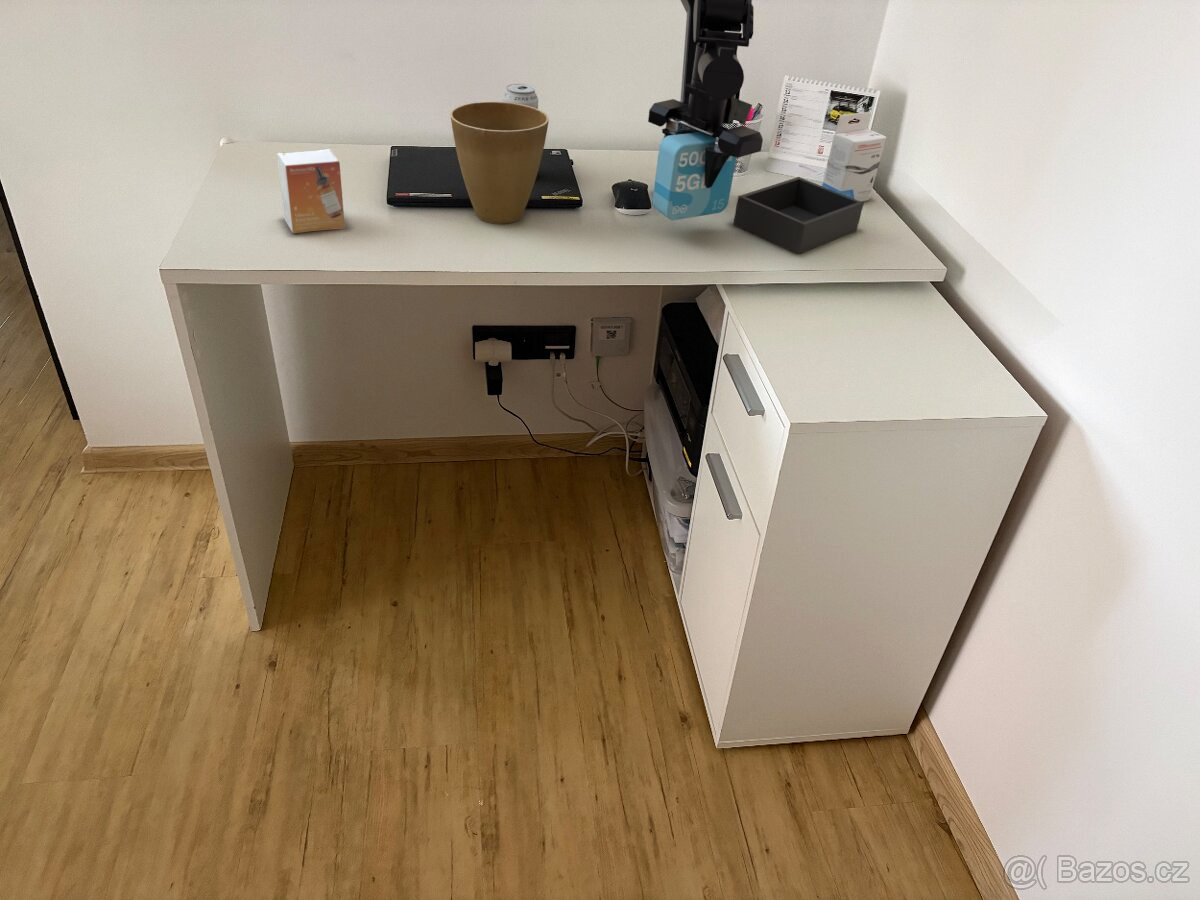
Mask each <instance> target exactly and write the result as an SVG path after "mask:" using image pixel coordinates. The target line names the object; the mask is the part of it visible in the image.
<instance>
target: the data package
mask: <svg viewBox="0 0 1200 900" xmlns="http://www.w3.org/2000/svg"><path fill="white" fill-rule="evenodd" d="M663 138H664V137H663ZM663 138H662V140H661V141H660V144H659V148H658V155H657V163H656V171H655V177H654V178H655V179H654V184H653V194H652V202H651V204H652V207H653V208H654V209H655V210H656V211H657V212H658V213H660V214H661V215H662V216H664V217H665V218H667V219H668V220H669V221H678V220H684V219H691V218H697V217H702V216H708V215H714V214H715V215H716V214H719V213H722V212H723V211H725V209H727V207H728V205H729V201H730V195H731V189H732V184H733V179H734V173H735V168H736V164H737V163H736V162H737V158H738V157H733V156H730V157H729V158H728V160H727V161H726V162H725V164H724V166H723V167H722V169H721V171H720V173H719V175H718V176H717V178H716V180H715V182H714V184H713V186H712V187H710V188H706V185H705V148H707V147H711V146H714V145H715V142H716V138H713V137H711V136H708V135H706V134H703V133H701V132H696V133H687V134H678V135H669V136H667V137H665V138H664V139H663Z"/></svg>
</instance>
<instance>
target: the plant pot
mask: <svg viewBox="0 0 1200 900" xmlns="http://www.w3.org/2000/svg"><path fill="white" fill-rule="evenodd" d="M449 115H450V121H451V128H452V129H451V130H452V135H453V140H454V146H455V150H456V155H457V159H458V163H459V168H460V172H461V175H462V178H463V182H464V185H465V188H466V191H467V194H468V197H469V200H470V202H471V206H472V208H473V211H474V213H475V215H476V217H477V218H478V219H479V220H481V221H483V222H485V223H490V224H497V225H498V224H499V225H505V224H513V223H515V222H517V221H519V220H520V219H521V218H522V217H523V215H524V212H525V210H526V207H527V206H528V202H529V200H530V197H531V195H532V194H531V193H532V192H533V188H534V186H535V182H536V180H537V176H538V173H539V169H540V166H541V162H542V157H543V153H544V150H545V149H544V148H545V144H546V140H547V133H548V128H549V121H550V118H549V115H548V114H547V113H546V112H544V111H542V110H540V109H539V108H538V109H536V108H533V107H530V106H526V105H522V104H516V103H508V102H503V101H476V102H470V103H469V102H468V103H465V104H462V105H459V106H457V107H455V108H453V109H452V110H451V111H450V113H449Z"/></svg>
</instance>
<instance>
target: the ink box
mask: <svg viewBox="0 0 1200 900" xmlns="http://www.w3.org/2000/svg"><path fill="white" fill-rule="evenodd" d="M871 112H872V111H871ZM871 112H870V111H864V112H863V111H862V112H856V113H848V114H841V115H840V116H839V118H838V122H837V125H836V129H835V133H833V139H832V143H831V147H830V150H829V155H828V159H827V164H826V167H825V172H824V176H823V180H822V184H821V186H823V187H825V188H828V189H830V190H833V191H835V192H838V193H840V194H843V195H845V196H848V197H850V198H853V199H855V200H858V201H860V202H865V201H866V202H867V201H870V197H871V194H872V191H873V187H874V184H875V180H876V176H877V173H878V169H879V166H880V163H881V159H882V155H883V152H884V148H885V145H886V141H887V136H886V135H883V134H881V133H879V132H876V131H874V130H872V129H870V128H868V127H869V123H870V121H871V117H872V114H871ZM854 119H855V120H856V121H857V120H859V121H858V122H855V123H849V122H850V121H853V120H854Z"/></svg>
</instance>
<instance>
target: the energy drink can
mask: <svg viewBox="0 0 1200 900" xmlns="http://www.w3.org/2000/svg"><path fill="white" fill-rule="evenodd" d="M502 102H508V103H516V104H522V105H526V106H530V107H533V108H536V109H538V110H539V97H538V95H537V93H536V87H534V86H532V85H530V84H527V83H511V84H508V85H506V90H505V92H504V94H503V95H502Z"/></svg>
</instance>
